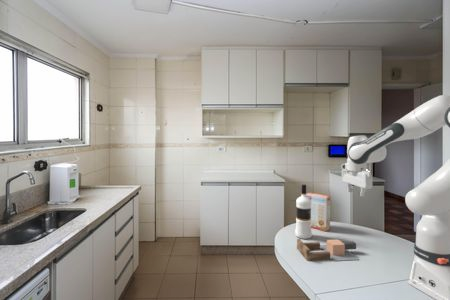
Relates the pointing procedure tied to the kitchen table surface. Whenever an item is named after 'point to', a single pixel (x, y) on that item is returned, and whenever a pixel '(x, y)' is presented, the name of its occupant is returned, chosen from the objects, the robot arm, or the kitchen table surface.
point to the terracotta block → (339, 246)
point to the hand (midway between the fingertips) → (355, 193)
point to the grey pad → (345, 257)
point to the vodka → (303, 216)
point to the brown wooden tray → (305, 251)
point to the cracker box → (320, 211)
